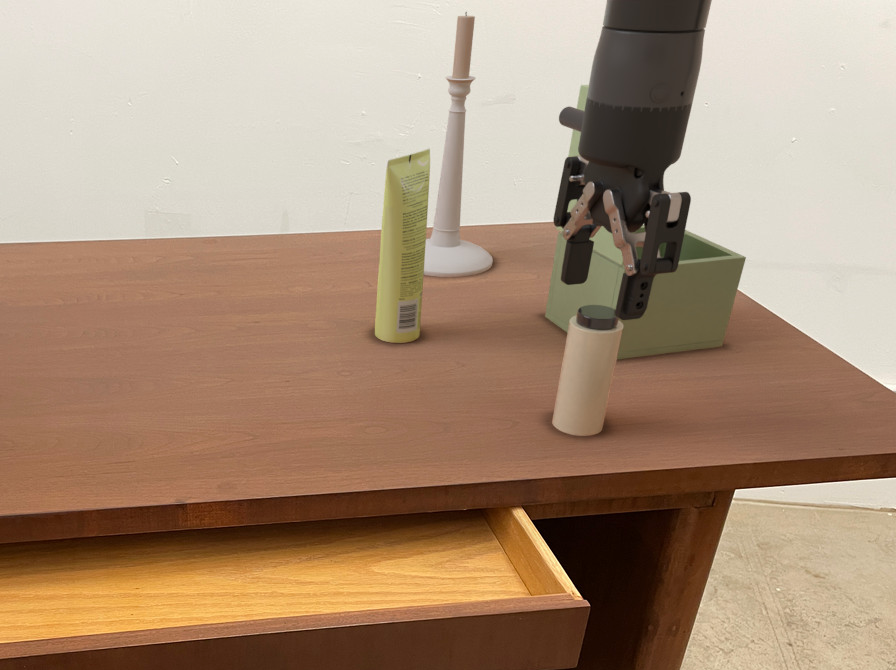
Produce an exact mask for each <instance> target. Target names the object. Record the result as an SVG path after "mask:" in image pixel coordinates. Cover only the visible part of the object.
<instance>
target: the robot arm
mask: <svg viewBox="0 0 896 670" xmlns="http://www.w3.org/2000/svg"><path fill="white" fill-rule="evenodd" d="M712 1H713V0H606V2H605V8H604V9H605V10H604V16H603V21H602V27H601V32H600V36H599V40H598V43H597V46H596V49H595V53H594V56H593V61H592V64H591V71H590V76H589V82H588V85H589V87H588V93H587V99H586V105H585V111H584V117H583V123H582V129H581V135H580V141H579V146H578V152H579V154H580V156H574V157H568V156H567V157H566V158H564V159H565V160H564V164H563V169H562V172H561V177H560V184H559V189H558V194H557V198H556V203H555V208H554V214H553V225H554V226H555V228H556V227H562V228H563V237H564V239H565V240H567V242H566V248H565V253H564V259H563V261H564V262H563V265H562V274H561V281H562V282H563V283H565V284H567V285H574V284H582V283H584V282H586V280H587V278H588V272H589V267H590V262H591V256H592V251H593V246H594V241H592V240H589V238H592V237H594V235H595V234H596V233H597V232H598V230H599V229H600V228H601V226H603V227H604V228H605V229H606V230H607V231H608V232H610V233H612V235H613V240H614V245H615V246H616V247H617V248H618V249H620V250H621V252H622V257H623V262H624V268H625V272H626V273H623V276H622V281H621V286H620V291H619V295H618V300H617V305H616V310H615V315H616V316H617V317H618V318H620V319H621V320H631V319H639V318H641V317H642V316H643V314H644V313H645V311H646V309H647V305H648V301H649V296H650V292H651V287H652V283H653V279H654V277H655V275H656V274H663V273H673V272H675V271H676V270H677V268H678V263H679V258H680V253H681V248H682V243H683V238H684V233H685V230H686V227H687V221H688V217H689V213H690V207H691V201H692V197H691V194H690V193H689V192H688V191H679V192H678V191H677V192H671V191H667V190H665V186H664V178H665V172H666V171H667V169H668V168H669V167H670V166H672V165H674V164H676V163H677V162H678V161H679V160H680V158H681V154H682V151H683V147H684V142H685V138H686V133H687V129H688V124H689V120H690V116H691V111H692V107H693V102H694V97H695V93H696V90H697V89H696V88H697V85H698V81H699V76H700V71H701V66H702V60H703V51H704V50H703V48H704V39H705V33H706V27H707V23H708V18H709V15H710V10H711V5H712ZM575 199H577V203H576V204H575V206H574V207H573V208H572V210H571V211H570V212H567V211H568V206H569V202H570V201H571V200H575ZM642 225H644V227H645V232H642V233H632V232H636V231H637V230H638V229H640V228H641V227H642ZM662 243H666V249H665V254H664V257H660V251H659V246H660V245H661V244H662ZM636 247H642V248H643V252H642V257H641V259H638V256H637V250H636Z"/></svg>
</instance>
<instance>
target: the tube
mask: <svg viewBox="0 0 896 670" xmlns="http://www.w3.org/2000/svg"><path fill="white" fill-rule="evenodd" d="M386 162H387V163H386V171H385V181H384V192H383V193H384V194H383V206H382V217H381V229H380V230H381V231H380V243H379V245H380V246H379V257H378V259H379V260H378V274H377V288H376V289H377V290H376V303H375V321H374V337H376V338H377V339H378V340H380V341H382V342H386V343H391V344H407V343H411V342H414V341H416V340H418V339H419V337H420V333H421V319H422V308H423V307H422V306H423V292H424V291H423V290H424V261H425V245H426V239H427V230H428V229H427V227H428V213H429V211H428V210H429V193H430V178H431V177H430V176H431V149H430V147H429V148H426V149H423V150H420V151H416V152H413V153H410V154H406V155H402V156H398V157H393V158H391V159H387V161H386Z"/></svg>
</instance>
